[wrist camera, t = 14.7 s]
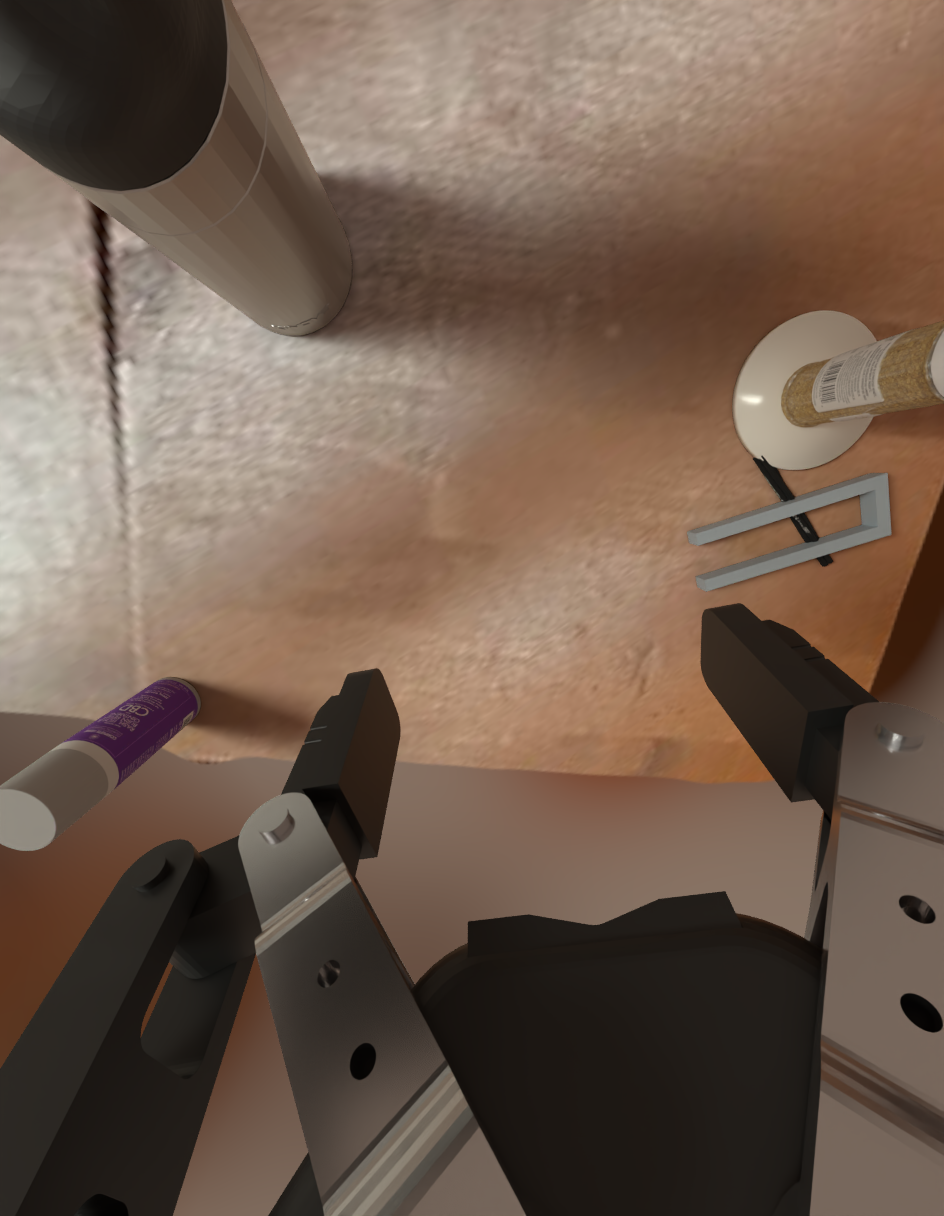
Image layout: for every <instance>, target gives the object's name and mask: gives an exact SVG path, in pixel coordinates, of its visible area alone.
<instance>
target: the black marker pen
mask: <svg viewBox="0 0 944 1216" xmlns="http://www.w3.org/2000/svg"><path fill="white" fill-rule="evenodd" d="M761 457H762V459H763V460H764V461H763V460H761V459H759V458H758V459H757V458H753V460H754V461H755V463H756V464H757V466H758V467H759V469H760V470H761V472H762V473H763V475H764V476H765V478H766V480H767V481H768V483H769V484H770V485H771V487H772V488H773V490H774V491H775V492H776V494H777V495H778V497H779V498H780V500H781V502H787V501H789V500H794V499H795V498H794V496H793V495H792V493H791V492H790V491H789V489H788V488H787V486H786V485H785V483H784V481H783V479H782V477H781V476H780V474H779V472H778V470H777V468H776V467H773V466H771V465H770V464H769V463H768V462H767V460H766V459H765V458H764V457H763V455H762V456H761ZM790 518H791V520H792V522H793V523H794V525H795V527H796V528H797V530H798V532H799V533H800V535H801V536H802V538H803V539H804V541H805V542H806V543H809V542H817V541H819V537H818V536H817V534H816V532H815V530H814V529H813V527H812V525H811V523H810V522H809V520H808V518H807V517H806V515H805V513H804V512H803V513H800V514H797V515H794V516H791V517H790ZM817 559H818V561H819V562H820V564H821V565H822V566H824V567H825V566H827V565H828V564H830V563H832V562H833V560H832V559H831V557H830V556H829V554H827V555H824V556H821V557H817Z"/></svg>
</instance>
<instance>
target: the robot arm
mask: <svg viewBox="0 0 944 1216" xmlns="http://www.w3.org/2000/svg"><path fill="white" fill-rule="evenodd" d="M0 135H1V136H3V137H4V138H6V139H7V140H8V141H10V142H11V143H12V144H14V145H15V146H16V147H18V148H19V149H21V150H22V151H23V152H25V153H26V154H27V155H29V156H30V157H31V158H33V159H34V160H36V161H37V162H38V163H39V164H41V165H42V166H43V167H45V168H46V169H48V170H49V171H50V172H52V173H53V174H54V175H56V176H57V177H58V178H60V179H61V180H62V181H64V182H65V183H67V184H68V185H69V186H71V187H72V188H73V189H75V190H76V191H77V192H79V193H80V194H81V195H83V196H84V197H86V198H87V199H88V200H90V201H91V202H92V203H94V204H95V205H96V206H98V207H99V208H100V209H102V210H103V211H105V212H106V213H108V214H109V215H110V216H112V217H113V218H115V219H116V220H117V221H119V222H120V223H121V224H123V225H124V226H125V227H127V228H128V229H129V230H131V231H132V232H134V233H135V234H136V235H138V236H139V237H140V238H142V239H143V240H144V241H146V242H147V243H148V244H150V245H151V246H153V247H154V248H155V249H157V250H158V251H159V252H161V253H162V254H163V255H165V256H166V257H167V258H169V259H170V260H172V261H173V262H174V263H176V264H177V265H178V266H180V267H181V268H182V269H184V270H185V271H186V272H188V273H189V274H190V275H192V276H193V277H195V278H196V279H197V280H199V281H200V282H201V283H203V284H204V285H205V286H207V287H208V288H209V289H211V290H212V291H214V292H215V293H216V294H218V295H219V296H220V297H222V298H223V299H224V300H226V301H227V302H228V303H230V304H231V305H232V306H234V307H235V308H237V309H238V310H240V311H241V312H242V313H244V314H245V315H246V316H248V317H249V318H250V319H252V320H253V321H254V322H256V323H257V324H259V325H260V326H262V327H264V328H266V329H268V330H270V331H272V332H274V333H279V334H283V335H294V336H300V335H304V334H309V333H313V332H315V331H317V330H319V329H320V328H322V327H324V326H326V325H327V324H328V323H329V322H330V321H331V320H332V319H334V318H335V316H336V315H337V314H338V312H339V311H340V309H341V308H342V307H343V305H344V302H345V300H346V298H347V295H348V293H349V289H350V284H351V279H352V258H351V251H350V245H349V242H348V239H347V237H346V234H345V231H344V228H343V226H342V224H341V222H340V220H339V218H338V216H337V214H336V212H335V210H334V208H333V206H332V204H331V202H330V200H329V198H328V195H327V193H326V191H325V189H324V187H323V185H322V183H321V181H320V179H319V177H318V175H317V173H316V171H315V169H314V167H313V165H312V163H311V161H310V159H309V157H308V155H307V153H306V151H305V149H304V147H303V145H302V143H301V140H300V138H299V136H298V134H297V132H296V130H295V128H294V126H293V124H292V122H291V120H290V118H289V116H288V114H287V112H286V110H285V108H284V106H283V104H282V102H281V100H280V98H279V96H278V94H277V92H276V90H275V88H274V86H273V83H272V81H271V79H270V77H269V75H268V73H267V71H266V69H265V67H264V65H263V63H262V61H261V59H260V57H259V55H258V53H257V51H256V49H255V47H254V45H253V43H252V41H251V39H250V37H249V35H248V33H247V31H246V29H245V27H244V24H243V23H242V21H241V19H240V17H239V15H238V13H237V11H236V9H235V7H234V5H233V3H232V1H231V0H0ZM701 670H702V674H703V677H704V680H705V682H706V684H707V686H708V688H709V689H710V691H711V692H712V693H713V695H714V696H715V697H716V699H717V700H718V702H719V703H720V704H721V706H722V707H723V709H724V710H725V711H726V713H727V714H728V715H729V717H730V718H731V720H732V721H733V722H734V724H735V725H736V727H737V728H738V729H739V731H740V732H741V734H742V735H743V736H744V738H745V739H746V740H747V742H748V743H749V745H750V746H751V747H752V749H753V750H754V752H755V753H756V754H757V756H758V757H759V758H760V760H761V761H762V763H763V764H764V765H765V767H766V768H767V770H768V771H769V772H770V774H771V775H772V777H773V778H774V779H775V781H776V782H777V783H778V785H779V786H780V787H781V789H782V790H783V792H784V793H785V795H786V796H787V797H788V799H789V800H790V801H791V802H797V801H805V800H812V799H815V800H816V801H817V803H818V804H819V805H820V806H821V808H822V809H823V813H822V817H821V822H820V830H819V838H818V846H817V855H816V862H815V870H814V880H813V887H812V895H811V903H810V909H809V916H808V921H807V926H806V931H805V937H804V938H803V937H801V936H799V935H797V934H795V933H793V932H791V931H789V930H787V929H785V928H783V927H780V926H778V925H775V924H773V923H770V922H767V921H765V920H762V919H758V918H755V917H751V916H747V915H743V914H737V913H735V911H734V909H733V907H732V905H731V902H730V900H729V898H728V896H727V894H726V892H725V891H723V892H715V893H706V894H698V895H689V896H682V897H672V898H664V899H658V900H656V901H654V902H651V903H649V904H647V905H644V906H642V907H640V908H638V909H635V910H633V911H631V912H628V913H626V914H624V915H622V916H619V917H617V918H615V919H613V920H610V921H608V922H605V923H603V924H600V925H587V924H581V923H575V922H569V921H564V920H558V919H552V918H546V917H540V916H533V915H521V916H512V917H504V918H495V919H487V920H478V921H469V922H468V943H467V944H465V945H463V946H460V947H458V948H457V949H455V950H454V951H452V952H451V953H449V954H447V955H446V956H444V957H443V958H442V959H441V960H439V961H438V962H437V963H435V964H434V965H433V966H432V967H431V968H430V969H429V970H428V971H427V972H426V973H425V974H424V975H423V976H422V977H421V978H420V979H419V980H418V982H417V983H416V984H414V982H413V980H412V979H411V977H410V975H409V973H408V971H407V969H406V968H405V966H404V964H403V963H402V961H401V959H400V957H399V955H398V954H397V952H396V950H395V948H394V946H393V945H392V943H391V941H390V939H389V937H388V936H387V934H386V932H385V930H384V928H383V926H382V924H381V922H380V920H379V919H378V917H377V915H376V913H375V911H374V909H373V908H372V906H371V904H370V902H369V900H368V898H367V897H366V895H365V893H364V891H363V889H362V887H361V885H360V884H359V882H358V880H357V878H356V877H355V875H356V870H357V865H358V862H359V859H366V858H374V857H377V855H378V850H379V845H380V839H381V835H382V829H383V824H384V819H385V814H386V808H387V803H388V798H389V793H390V787H391V782H392V777H393V772H394V766H395V761H396V756H397V751H398V745H399V740H400V721H399V716H398V713H397V710H396V708H395V705H394V702H393V700H392V697H391V695H390V692H389V690H388V687H387V685H386V682H385V680H384V677H383V675H382V673H381V671H380V670H379V669H377V668H376V669H371V670H365V671H360V672H354V673H349V674H348V675H347V677H346V679H345V681H344V684H343V687H342V689H341V692H340V694H339V695H336V696H331V697H330V698H329V700H328V701H327V702H326V703H325V704H324V705H323V706H322V707H321V708H320V710H319V711H318V712H317V714H316V716H315V719H314V721H313V723H312V725H311V728H310V729H311V731H309V732H308V734H307V737H306V739H305V741H304V742H305V745H303V746H302V748H301V750H300V753H299V755H298V757H297V760H296V762H295V764H294V766H293V769H292V771H291V773H290V776H289V778H288V780H287V782H286V785H285V787H284V789H283V791H282V794H281V795H280V796H277V797H275V798H273V799H271V800H269V801H268V802H266V803H265V804H263V805H262V806H261V807H260V808H258V809H257V810H256V811H255V812H254V813H253V814H252V815H251V816H250V818H249V819H248V820H247V822H246V823H245V825H244V826H243V828H242V830H241V833H240V835H239V836H237V837H235V838H232V839H230V840H228V841H226V842H223V843H221V844H219V845H216V846H214V847H212V848H209V849H207V850H205V851H202V852H200V853H199V852H198V851H197V850H196V849H195V847H194V846H193V845H192V844H191V843H190V842H189V841H186V840H180V839H179V840H172V841H169V842H166V843H164V844H161V845H159V846H157V847H155V848H153V849H152V850H150V851H149V852H147V853H146V854H144V855H143V856H142V857H140V858H139V859H138V860H137V861H136V862H135V863H134V864H133V865H132V866H131V867H130V868H129V869H128V870H127V871H126V872H125V873H124V874H123V876H122V877H121V878H120V880H119V881H118V883H117V884H116V886H115V887H114V889H113V891H112V892H111V894H110V895H109V897H108V898H107V900H106V902H105V903H104V905H103V906H102V908H101V910H100V911H99V913H98V914H97V916H96V918H95V919H94V921H93V922H92V924H91V925H90V927H89V929H88V930H87V932H86V934H85V935H84V937H83V938H82V940H81V941H80V943H79V945H78V946H77V948H76V950H75V951H74V953H73V954H72V956H71V957H70V959H69V960H68V962H67V964H66V965H65V967H64V968H63V970H62V972H61V973H60V975H59V976H58V978H57V979H56V981H55V983H54V984H53V986H52V988H51V989H50V991H49V992H48V994H47V995H46V997H45V999H44V1000H43V1002H42V1003H41V1005H40V1007H39V1008H38V1010H37V1011H36V1013H35V1014H34V1016H33V1018H32V1019H31V1021H30V1022H29V1024H28V1026H27V1027H26V1029H25V1030H24V1032H23V1034H22V1035H21V1037H20V1039H19V1040H18V1042H17V1043H16V1045H15V1046H14V1048H13V1049H12V1051H11V1053H10V1054H9V1056H8V1057H7V1059H6V1061H5V1062H4V1064H3V1066H2V1067H1V1068H0V1216H173V1213H174V1210H175V1206H176V1203H177V1200H178V1197H179V1194H180V1191H181V1188H182V1184H183V1181H184V1178H185V1175H186V1172H187V1169H188V1166H189V1162H190V1159H191V1156H192V1153H193V1150H194V1147H195V1143H196V1140H197V1137H198V1134H199V1131H200V1128H201V1124H202V1121H203V1118H204V1115H205V1112H206V1109H207V1106H208V1103H209V1099H210V1096H211V1093H212V1089H213V1087H214V1084H215V1080H216V1077H217V1074H218V1071H219V1068H220V1065H221V1062H222V1058H223V1055H224V1052H225V1049H226V1046H227V1043H228V1040H229V1036H230V1033H231V1030H232V1027H233V1024H234V1020H235V1017H236V1014H237V1011H238V1008H239V1005H240V1002H241V999H242V995H243V992H244V989H245V986H246V983H247V980H248V976H249V973H250V970H251V967H252V964H253V961H254V958H255V954H257V958H258V962H259V966H260V969H261V973H262V977H263V981H264V984H265V988H266V992H267V996H268V1000H269V1003H270V1008H271V1011H272V1015H273V1019H274V1023H275V1026H276V1030H277V1034H278V1038H279V1042H280V1046H281V1049H282V1053H283V1057H284V1061H285V1065H286V1068H287V1072H288V1076H289V1079H290V1084H291V1087H292V1091H293V1095H294V1099H295V1103H296V1106H297V1110H298V1114H299V1118H300V1122H301V1125H302V1129H303V1133H304V1137H305V1141H306V1144H307V1148H308V1154H307V1155H306V1157H305V1158H304V1160H303V1161H302V1163H301V1165H300V1166H299V1168H298V1170H297V1171H296V1172H295V1174H294V1176H293V1177H292V1179H291V1181H290V1182H289V1184H288V1185H287V1187H286V1188H285V1190H284V1192H283V1193H282V1195H281V1196H280V1198H279V1199H278V1201H277V1203H276V1205H275V1206H274V1208H273V1209H272V1211H271V1212H270V1214H269V1215H268V1216H944V723H943V722H942V721H940V720H938V719H937V718H935V717H933V716H931V715H929V714H927V713H925V712H922V711H920V710H917V709H914V708H911V707H908V706H903V705H900V704H894V703H884V702H879V701H878V700H876V699H875V698H874V697H873V696H871V695H870V694H869V693H868V692H867V691H866V690H865V689H863V688H862V687H861V686H860V685H859V684H857V683H856V682H855V681H854V680H853V679H851V678H850V677H849V676H848V675H847V674H845V673H844V672H843V671H842V670H841V669H840V668H838V667H837V666H836V665H835V664H834V663H832V662H831V661H830V660H829V659H825V657H824V655H823V654H822V653H820V652H819V651H818V650H817V649H816V648H815V647H811V646H810V643H809V642H807V641H806V640H805V639H804V638H803V637H801V636H800V635H799V634H798V633H797V632H795V631H794V630H793V629H790V628H788V627H786V626H783V625H781V624H779V623H776V622H774V621H772V620H764V621H761V620H760V619H759V618H758V617H756V616H755V615H754V614H753V613H752V612H751V611H750V610H749V609H748V608H746V607H745V606H744V605H743V604H741V603H737V604H732V605H726V606H721V607H715V608H710V609H706V610H704V612H703V615H702V633H701ZM169 962H170V963H171V964H172V965H173V967H172V970H171V972H170V974H169V976H168V979H167V981H166V983H165V985H164V987H163V990H162V992H161V994H160V996H159V999H158V1001H157V1003H156V1005H155V1007H154V1010H153V1012H152V1014H151V1016H150V1019H149V1021H148V1023H147V1025H146V1027H145V1030H144V1032H143V1034H142V1037H141V1039H140V1036H141V1026H142V1022H143V1019H144V1016H145V1013H146V1011H147V1009H148V1006H149V1004H150V1002H151V1000H152V998H153V996H154V993H155V991H156V989H157V987H158V985H159V982H160V980H161V978H162V976H163V974H164V971H165V969H166V967H167V965H168V963H169Z"/></svg>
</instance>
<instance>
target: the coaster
mask: <svg viewBox="0 0 944 1216" xmlns="http://www.w3.org/2000/svg"><path fill="white" fill-rule="evenodd" d="M874 342H877V340H876V339H875V337H874V336H873V334H872V333H871V331H870V330H869V329H868V328H867V327H866V326H865V325H864V324H863V323H861V322H860V321H859V320H857V319H856V318H854V317H852V316H850V315H848V314H845V313H842V312H837V311H826V310H821V311H814V312H809V313H805V314H802V315H799V316H797V317H795V318H792V319H790V320H788V321H786V322H784V323H783V324H781V325H779V326H777V327H776V328H775V329H773V330H772V331H771V332H769V333H768V334H767V335H766V336H765V337H764V338H763V339H762V340H760V342H759V343H758V344H757V345H756V346H755V347H754V349H753V350H752V351H751V353H750V354H749V356H748V357H747V359H746V360H745V362H744V364H743V366H742V368H741V370H740V373H739V375H738V378H737V381H736V384H735V388H734V393H733V400H732V413H733V421H734V426H735V430H736V432H737V435H738V437H739V439H740V441H741V443H742V445H743V446H744V447H745V449H746V450H747V451H748V452H749V453H750V454H751V455H752V456H753V457H754V458H757V459H758V458H759V459H761V460H763V459H762V457H761V456H762V455H763V457H764V458H765V459H766V460H767V462H768V463H769V464H770V465H771V466H773V467H776V468H777V469H782V470H802V469H809V468H813V467H817V466H820V465H822V464H825V463H827V462H829V461H831V460H833V459H835V458H836V457H838V456H839V455H841V454H842V453H844V452H845V451H846V450H847V449H848V448H850V447H851V446H852V445H853V444H854V443H855V442H856V441H857V440H858V439H859V438H860V436H861V435H862V434H863V433H864V431H865V430H866V429H867V427H868V425H869V424H870V422H871V421H872V419H873V417H874V416H873V417H867V418H861V419H855V420H848V421H841V422H837V421H835V422H830V423H823V424H820V425H817V426H814V427H799V426H796V425H793V424H791V423H790V422H789V421H788V420H787V418H786V417H785V415H784V414H783V411H782V407H781V397H782V393H783V389H784V386H785V384H786V383H787V380H788V379H789V378H790V377H791V376H792V375H793V373H794V372H795V371H797V370H798V369H799V368H801V367H803V366H805V365H807V364H809V363H814V362H820V361H823V360H827V359H830V358H833V357H835V356H837V355H839V354H842V353H844V352H847V351H850V350H853V349H856V348H859V347H862V346H865V345H868V344H871V343H874ZM763 461H764V460H763Z"/></svg>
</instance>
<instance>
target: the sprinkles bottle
mask: <svg viewBox="0 0 944 1216" xmlns="http://www.w3.org/2000/svg"><path fill="white" fill-rule="evenodd" d="M938 404H944V320H943V321H941V322H938V323H934V324H932V325H928V326H925V327H922V328H917V329H913V330H910V331H907V332H904V333H901V334H898V335H895V336H892V337H889V338H886V339H883V340H880V341H877V342H874V343H871V344H868V345H865V346H862V347H859V348H856V349H853V350H850V351H847V352H844V353H842V354H839V355H837V356H835V357H833V358H830V359H827V360H823V361H820V362H814V363H809V364H807V365H805V366H803V367H801V368H799V369H798V370H797V371H795V372H794V373H793V375H792V376H791V377H790V378H789V379H788V380H787V383H786V384H785V386H784V389H783V393H782V397H781V407H782V411H783V414H784V415H785V417H786V418H787V420H788V421H789V422H790V423H791V424H793V425H796V426H799V427H814V426H817V425H820V424H823V423H830V422H835V421H837V422H841V421H848V420H855V419H861V418H867V417H873V416H878V415H882V414H885V413H890V412H896V411H903V410H909V409H916V408H921V407H928V406H933V405H938Z"/></svg>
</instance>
